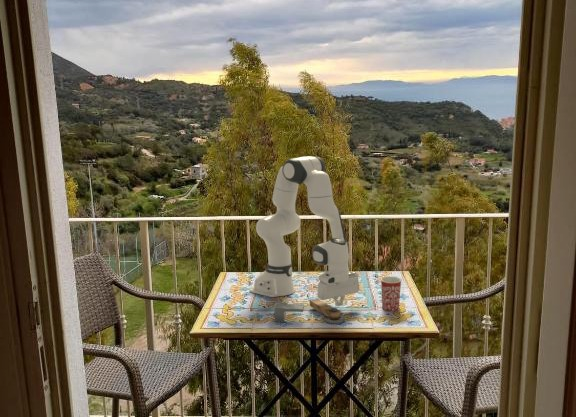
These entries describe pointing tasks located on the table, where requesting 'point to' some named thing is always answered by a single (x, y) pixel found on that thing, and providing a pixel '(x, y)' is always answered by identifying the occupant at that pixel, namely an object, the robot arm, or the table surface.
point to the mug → (390, 293)
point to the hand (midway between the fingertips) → (339, 305)
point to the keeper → (285, 310)
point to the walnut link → (325, 309)
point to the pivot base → (331, 321)
